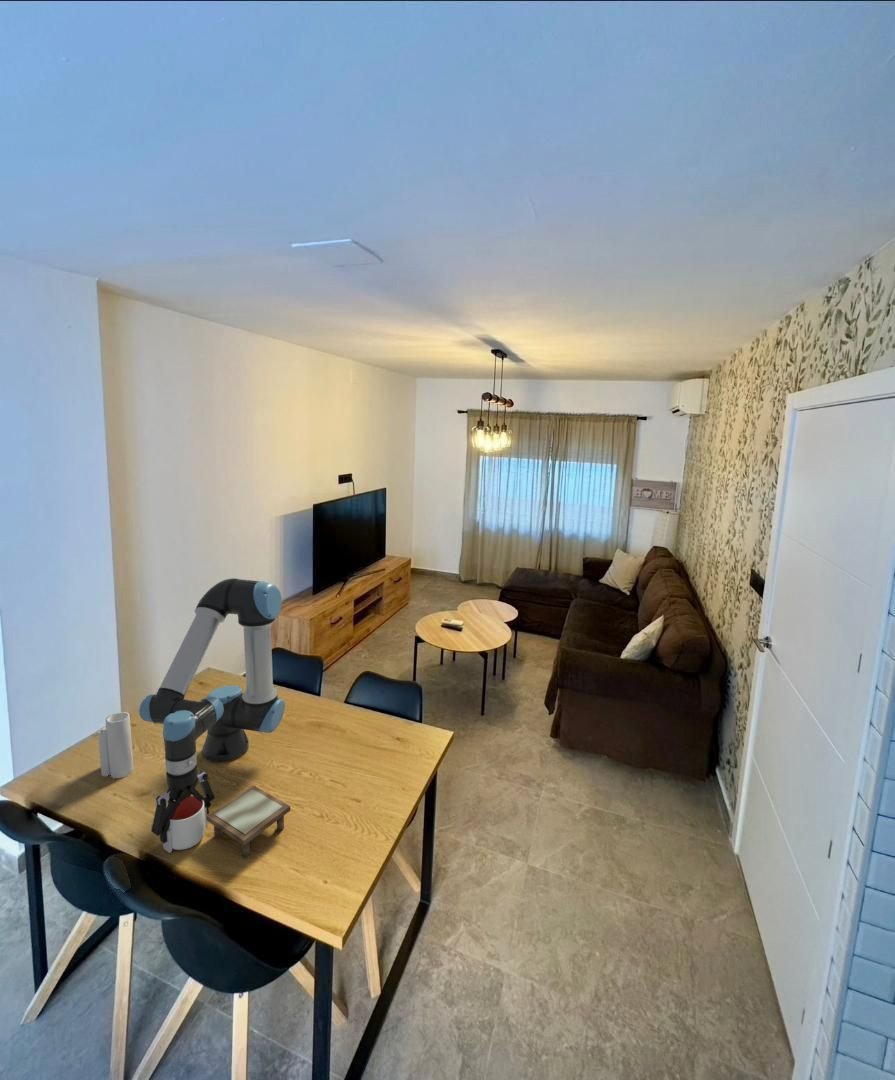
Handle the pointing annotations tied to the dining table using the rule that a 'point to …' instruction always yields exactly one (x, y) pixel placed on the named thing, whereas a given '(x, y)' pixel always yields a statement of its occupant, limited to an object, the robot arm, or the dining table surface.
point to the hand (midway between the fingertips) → (186, 837)
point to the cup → (187, 824)
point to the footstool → (248, 816)
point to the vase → (116, 746)
